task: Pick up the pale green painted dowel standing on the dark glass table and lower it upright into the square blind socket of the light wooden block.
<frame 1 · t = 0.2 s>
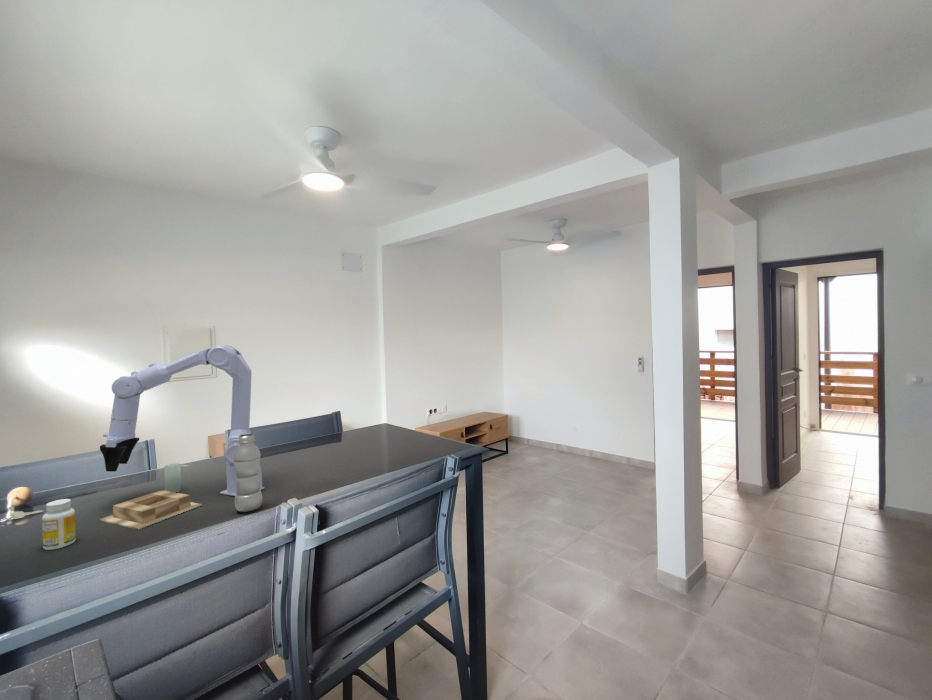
hand: (116, 467, 118), 11 cm above the table, tool pointing down, fingers open, 7 cm apart
plastic bottle: (248, 510, 112), on the table
supplement bottle: (59, 545, 95), on the table
socket block: (153, 512, 112), on the table
dowel: (173, 491, 128), on the table
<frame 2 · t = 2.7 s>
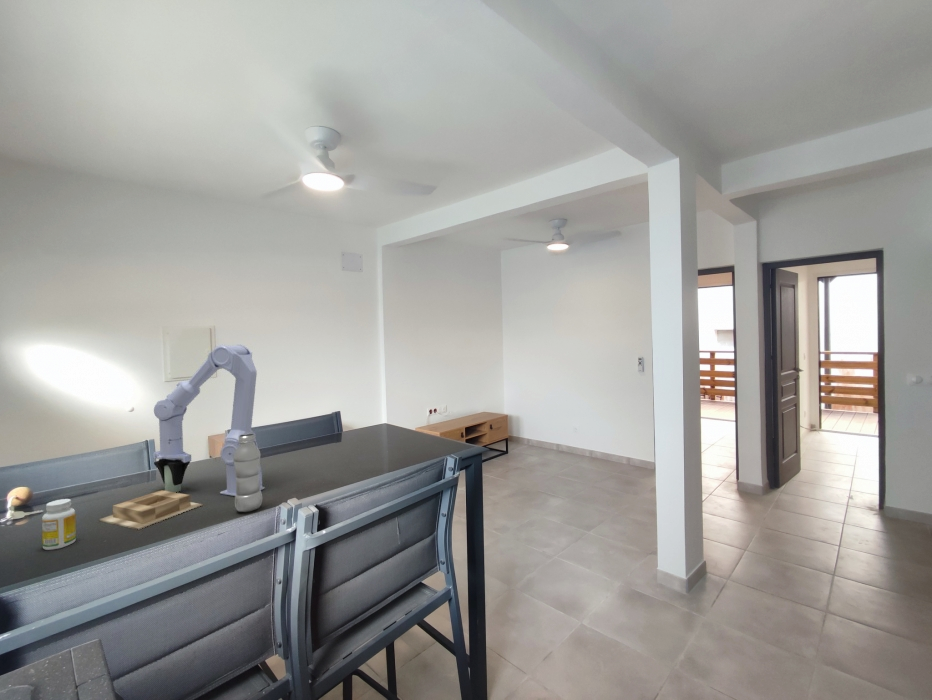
hand: (172, 483, 128), 2 cm above the table, tool pointing down, fingers closed on dowel, 4 cm apart
dowel: (173, 491, 128), on the table, touching gripper
everything else where it was.
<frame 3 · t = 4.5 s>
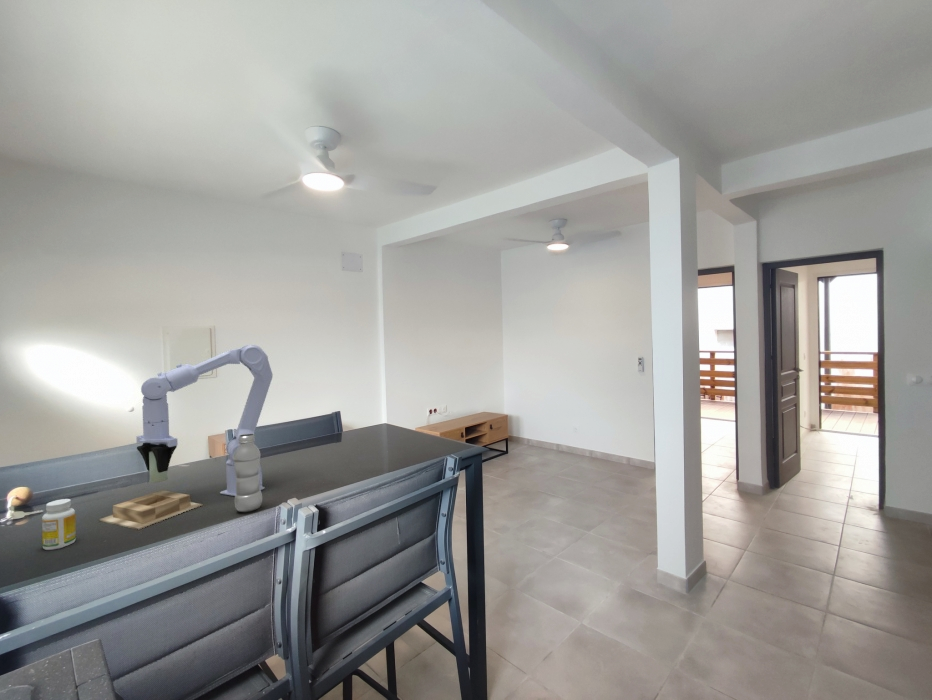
hand: (157, 470, 116), 10 cm above the table, tool pointing down, fingers closed on dowel, 4 cm apart
dowel: (158, 480, 116), point 7 cm above the table, touching gripper
everything else where it was.
when the fingers open (4 cm above the table, at t = 6.7 s): dowel drops 1 cm, resting on socket block.
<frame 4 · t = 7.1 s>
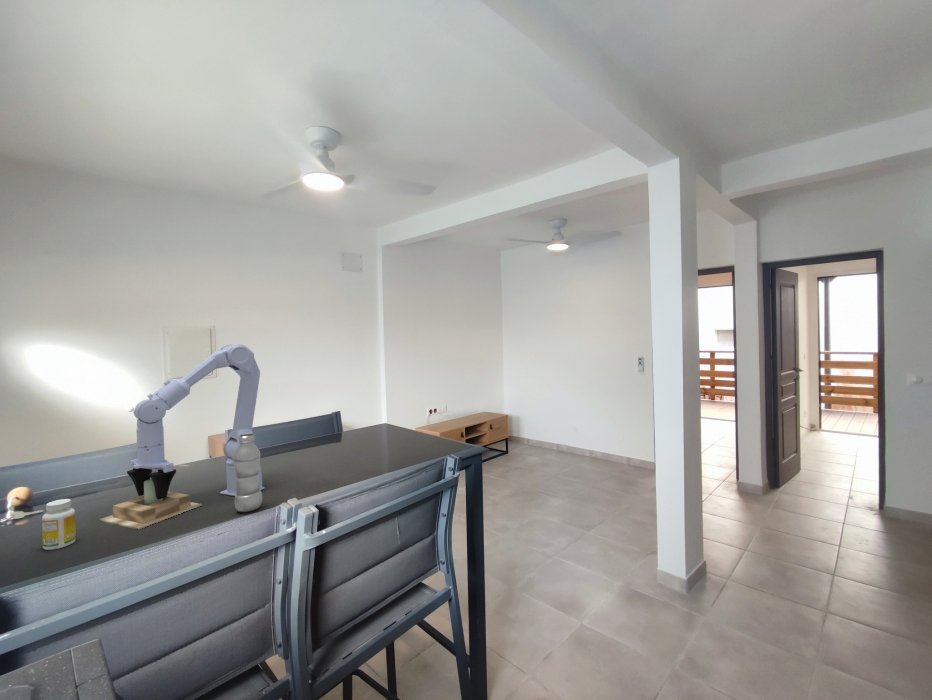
hand: (152, 496, 112), 4 cm above the table, tool pointing down, fingers open, 7 cm apart
dowel: (153, 510, 112), resting on socket block
everything else where it was.
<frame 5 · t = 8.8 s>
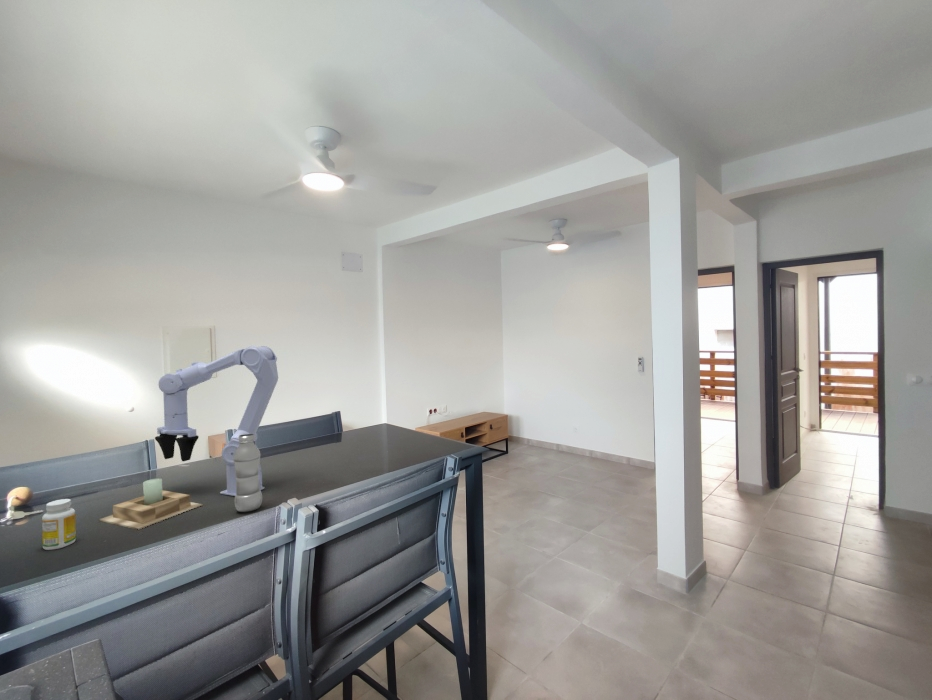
hand: (177, 459, 126), 10 cm above the table, tool pointing down, fingers open, 7 cm apart
nothing on the table moved.
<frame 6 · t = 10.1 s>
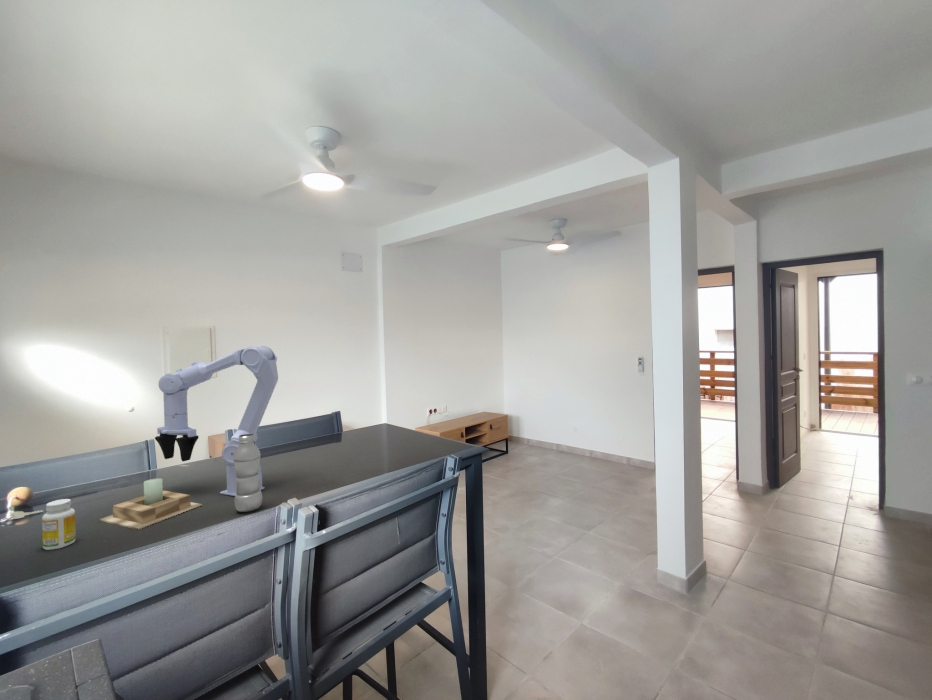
hand: (177, 459, 126), 10 cm above the table, tool pointing down, fingers open, 7 cm apart
nothing on the table moved.
at the end: dowel 0.3 cm off-centre on the socket block, point 0.5 cm above the socket block's base; dowel tilted 2°; the gripper is holding nothing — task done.
